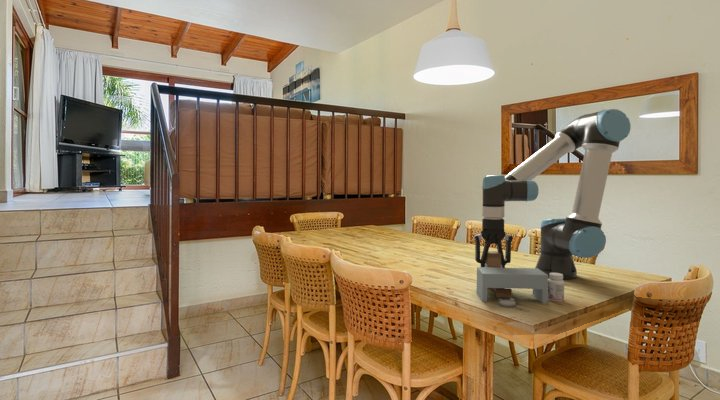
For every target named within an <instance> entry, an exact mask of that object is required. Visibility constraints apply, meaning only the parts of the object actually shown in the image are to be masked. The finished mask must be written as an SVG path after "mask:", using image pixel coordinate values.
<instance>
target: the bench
mask: <svg viewBox="0 0 720 400" xmlns="http://www.w3.org/2000/svg"><path fill="white" fill-rule="evenodd" d="M548 279H549V278H548V275H547V274H546V273H544V272H542V271H541V270H539V269H538V268H535V267H534V268H533V267H527V268H526V267H505V268H493V267H481V266H476V295H477V296H478V297H479V298H480V300H481V302H485V303H486V302H488V289H489V288H490V289H492V288H505V289H521V290H522V289H524V290H525V289H526V290H532V296H534V298H536V300H538V301H539V302H540V303H541V304H548Z"/></svg>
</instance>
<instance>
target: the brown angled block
mask: <svg viewBox="0 0 720 400" xmlns="http://www.w3.org/2000/svg"><path fill="white" fill-rule="evenodd" d="M485 263H486V264H487V267H493V268H501V253H499V252H498V250H495V251H494V250H488V253H487V258H486V262H485ZM491 289H492V290H493V292H494V293H495V297H496V298H500V297H509V298H513V297H512V296H513V293H512V292H513V290H512V289H513V288H491Z"/></svg>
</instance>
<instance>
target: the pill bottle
mask: <svg viewBox="0 0 720 400" xmlns="http://www.w3.org/2000/svg"><path fill="white" fill-rule="evenodd" d="M564 299H565V281H564V279H563V274H560V273H550V274H549V278H548V297H547V300H549V301H552V302H563V301H564Z"/></svg>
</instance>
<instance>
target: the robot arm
mask: <svg viewBox="0 0 720 400" xmlns="http://www.w3.org/2000/svg"><path fill="white" fill-rule="evenodd" d="M631 128H632V125H631V121H630V119H629V117H628V116H627V114H626V113H625V112H623V111H622V110H620V109H617V108H610V109H602V110H599V111H596V112H592V113H587V114H584V115H583V114H582V115H581V116H579V117H577V118H575V119H574V120H572V121H570V122H569V123H568V124H567V125H566V126H564V127H563V128H562V129H561V130H559V131H557V132H556V134H554V138H553V139H551V140H550V141H549V142H548V143H547V144H545V145H544V146H543V147H541V148H540V149H538V150H537V151H536V152H534V153H533V154H532V155H531V156H529V157H528V158H527V159H525V161H523V162H522V163H521V164H519V165H517V167H515V168H514V169H513V170H511V171H510V172H509V173H508V174H506V175H501V174H496V175H488V174H487V175H485V176H483V178H482V186H481V189H482V211H481V212H482V216H481V217H483V218H482V220H481V223H482V224H481V225H482V226H481V232H480V233H479V234H474V235H473V239H474V242H475V243H474V245H475V246H474V248H475V249H474V250H475V251H474V254H475V256H474V258H475V262H477V263H478V264H479V265H480V267H487V264H486V263H485V262H486V258H487V253H488V251H490V250H489V249H490V247H491V245H494V244H495V246H496V249H497V250H496V251H498V252H499V253H501V268H506V265H507V264H510V263H511V260H512V259H511V257H512V252H511V251H512V241H513V239H514V236H513V235H510V234H506V232H505V219H504V218H505V205H506V204H505V202H532V201H535V200H536V199H537V198H538V197H539V186H538V183H537V182H536V181H534V179H536V177H538V176H539V175H541V173H543V172H544V171H545V170H547V169H548V168H550V167H551V166H552V165H553V164H555V163H556V162H557V161H559V160H560V159H561V158H563V157H564V156H565V155H566V154H568V153H573V152H575V151H576V150H577V149H580V148H582V149H583V150H584V155H583V159H582V164H581V169H580V172H579V173H580V174H579V178H578V183H577V188H576V192H575V197H574V202H573V205H572V212H571V213H570V214H568V215H567V216H566V218H544V219H543V220H541V223H540V251H539V252H540V253H539V257H538V259H537V262H536V265H535V267H534V268H538V269H539V270H541V271H542V272H544V273H546V274H547V275H548V279H550V278H549V274H550V273H560V274H563V280H573V279H576V278H577V275H578V270H577V268H576V265H575V261H574V259H573V256H574V257H577V258H584V259H588V258H589V259H590V258H594V257H596V256H598V255H599V254H601V252H603V250H604V249H605V246H606V243H607V237H606V235H605V232H604V231H603V230H602V227H603V226H602V225H603V223H602V222H601V220H600V219H599V216H600V212H601V207H602V202H603V197H604V193H605V188H606V184H607V179H608V174H609V171H610V170H609V169H610V166H611V160H612V155H613V153H615V152H616V151H618V150H619V148H620V142H621V141H624V140H625V139H626V138H628V137H629V135H630V132H631ZM482 239H483V240H484V245H483V249H482V253H481V240H482ZM503 239H504V240H505V248H504V249H505V253H504V251H503V245H502V240H503Z"/></svg>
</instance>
